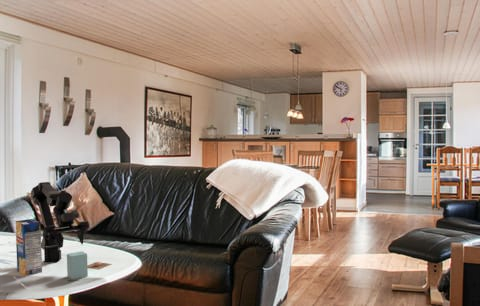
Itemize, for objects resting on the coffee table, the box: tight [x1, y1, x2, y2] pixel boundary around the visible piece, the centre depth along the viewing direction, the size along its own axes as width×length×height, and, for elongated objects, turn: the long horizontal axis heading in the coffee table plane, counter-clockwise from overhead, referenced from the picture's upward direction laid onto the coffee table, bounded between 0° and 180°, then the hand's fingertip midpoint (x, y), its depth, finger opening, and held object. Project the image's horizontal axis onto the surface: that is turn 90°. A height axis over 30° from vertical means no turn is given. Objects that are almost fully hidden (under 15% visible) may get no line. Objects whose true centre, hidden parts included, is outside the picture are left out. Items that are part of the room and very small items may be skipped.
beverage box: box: [15, 218, 43, 276], centre depth 209 cm, size 7×11×22 cm, turn 42°
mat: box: [67, 279, 79, 283], centre depth 201 cm, size 10×10×1 cm
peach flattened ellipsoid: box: [93, 261, 102, 267], centre depth 216 cm, size 3×3×1 cm
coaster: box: [87, 262, 113, 270], centre depth 216 cm, size 9×9×1 cm
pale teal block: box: [66, 250, 89, 280], centre depth 201 cm, size 6×6×10 cm
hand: (71, 245), depth 205 cm, fingers open, 9 cm apart
